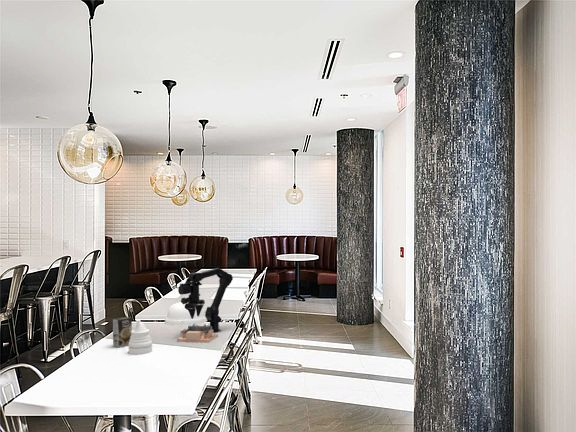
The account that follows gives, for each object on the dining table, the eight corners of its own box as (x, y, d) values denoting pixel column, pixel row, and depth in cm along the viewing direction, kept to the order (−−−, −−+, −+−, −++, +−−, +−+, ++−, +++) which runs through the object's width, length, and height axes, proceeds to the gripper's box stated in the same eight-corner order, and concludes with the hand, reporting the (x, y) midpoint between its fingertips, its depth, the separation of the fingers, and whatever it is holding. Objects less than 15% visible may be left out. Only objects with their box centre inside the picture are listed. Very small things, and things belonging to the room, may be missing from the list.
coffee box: (119, 347, 323) (118, 320, 323) (112, 346, 327) (112, 319, 327) (132, 344, 330) (131, 317, 330) (125, 343, 334) (125, 316, 334)
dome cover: (204, 325, 383) (203, 305, 383) (160, 326, 383) (159, 306, 383) (210, 317, 415) (209, 298, 415) (169, 318, 415) (169, 299, 415)
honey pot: (146, 354, 305) (145, 321, 305) (124, 354, 307) (123, 321, 307) (156, 349, 317) (155, 317, 317) (135, 348, 320) (134, 317, 320)
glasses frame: (189, 330, 348) (189, 323, 348) (212, 330, 344) (212, 324, 344) (182, 333, 338) (182, 326, 338) (206, 334, 334) (205, 327, 334)
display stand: (187, 335, 351) (187, 327, 351) (217, 336, 346) (217, 327, 346) (177, 341, 335) (176, 332, 335) (208, 342, 331) (207, 333, 331)
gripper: (188, 290, 364) (189, 314, 364) (176, 294, 346) (177, 320, 346) (204, 290, 361) (205, 314, 361) (193, 295, 343) (193, 320, 343)
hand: (195, 317), depth 353 cm, fingers open, 9 cm apart
